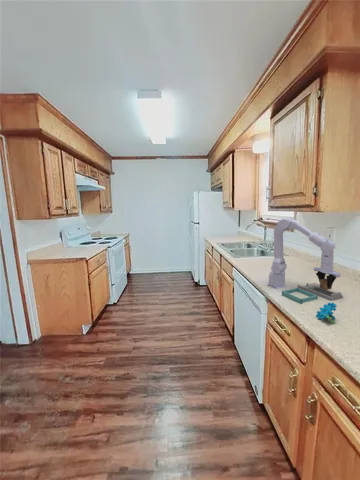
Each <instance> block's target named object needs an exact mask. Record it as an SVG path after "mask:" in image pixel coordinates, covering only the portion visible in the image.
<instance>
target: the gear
mask: <svg viewBox="0 0 360 480" xmlns="http://www.w3.org/2000/svg"><path fill="white" fill-rule="evenodd" d="M336 310H337V305H336V303H334V301H333V302H332V301H331V302H328V303H325V304H323V307H322V306H320V307H319V310H317V311H316V314H315V316H316V317H317V319H318V320H324V319H325V318H326V319H327V321H329V322H331V323H332V324H333V325H335V324H336V322H335V321H334V320H336V317H335V316H334V315H333V314H334V312H336Z"/></svg>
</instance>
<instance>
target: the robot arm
mask: <svg viewBox="0 0 360 480" xmlns="http://www.w3.org/2000/svg"><path fill="white" fill-rule="evenodd" d="M288 229H290V230H297V231H298V232H300V233H302V234H303V235H305V236H306V237H308V241H310V242H312V243H313V245H315V246H316V247H318V248H320V251H321V255H320V256H321V257H320V267H317V266H315V267H313V272H316V273H315V275H316V277H317V278H318V280H319V283H320V279H324V278H326V279H327V287H328V288H331V287H333V285H334V284H333V283H334V282H335V281H336V279H338V278H341V273H340V272H336V271H335V270H334V269H333V268H334V256H335V255H334V253H335V251H334V249H335V248H336V244H335V242H334V241H333V240H329V238H326V237H325V236H323V235H322V234H321V233H320V232H315V231H314V232H312V231H311V230H310V229H309V228H307V227H306V226H304V225H303V224H302V223H301V222H299V221H298V220H297V219H294V218H293V217H285V218H281V219H279V220H278V221H277V224H276V225H275V227H274V228H273V254H274V255H273V256H274V257H273V260H272V265H271V267H270V270H271V271H270V272H269V274H268V283H267V285H269V286H271V287H272V288H275V289H281V288H287V287H289V286H288V285H285V283H286V282H285V281H286V272H285V271H286V269H287V264H286V260H285V258H284V233H285V232H286V231H287V230H288Z"/></svg>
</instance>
